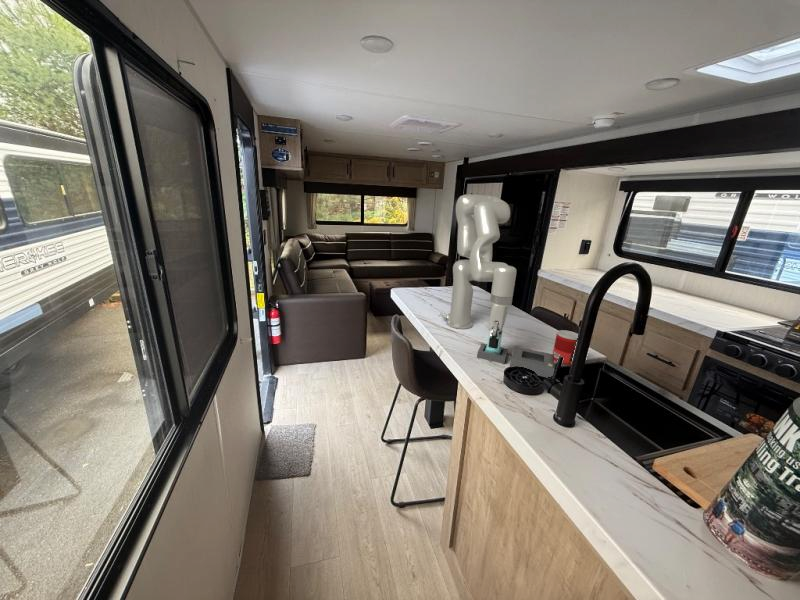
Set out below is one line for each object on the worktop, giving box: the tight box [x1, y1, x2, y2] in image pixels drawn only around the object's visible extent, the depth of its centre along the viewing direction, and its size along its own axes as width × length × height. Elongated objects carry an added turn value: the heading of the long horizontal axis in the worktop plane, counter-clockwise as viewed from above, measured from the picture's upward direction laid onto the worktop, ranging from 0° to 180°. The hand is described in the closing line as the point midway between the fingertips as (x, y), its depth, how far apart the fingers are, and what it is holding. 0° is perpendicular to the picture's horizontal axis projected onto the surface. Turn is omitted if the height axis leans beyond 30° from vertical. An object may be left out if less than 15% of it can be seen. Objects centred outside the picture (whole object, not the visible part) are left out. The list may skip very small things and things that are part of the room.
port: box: [509, 345, 556, 379], centre depth 111 cm, size 14×12×5 cm
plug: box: [485, 331, 503, 355], centre depth 117 cm, size 5×4×9 cm
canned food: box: [552, 329, 579, 366], centre depth 117 cm, size 8×8×11 cm
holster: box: [476, 342, 509, 365], centre depth 118 cm, size 10×9×2 cm
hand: (494, 343), depth 116 cm, fingers open, 9 cm apart
